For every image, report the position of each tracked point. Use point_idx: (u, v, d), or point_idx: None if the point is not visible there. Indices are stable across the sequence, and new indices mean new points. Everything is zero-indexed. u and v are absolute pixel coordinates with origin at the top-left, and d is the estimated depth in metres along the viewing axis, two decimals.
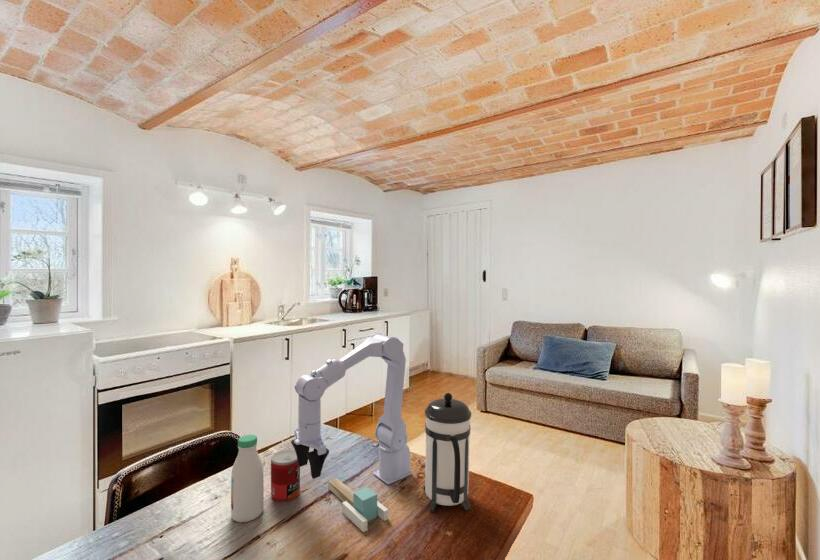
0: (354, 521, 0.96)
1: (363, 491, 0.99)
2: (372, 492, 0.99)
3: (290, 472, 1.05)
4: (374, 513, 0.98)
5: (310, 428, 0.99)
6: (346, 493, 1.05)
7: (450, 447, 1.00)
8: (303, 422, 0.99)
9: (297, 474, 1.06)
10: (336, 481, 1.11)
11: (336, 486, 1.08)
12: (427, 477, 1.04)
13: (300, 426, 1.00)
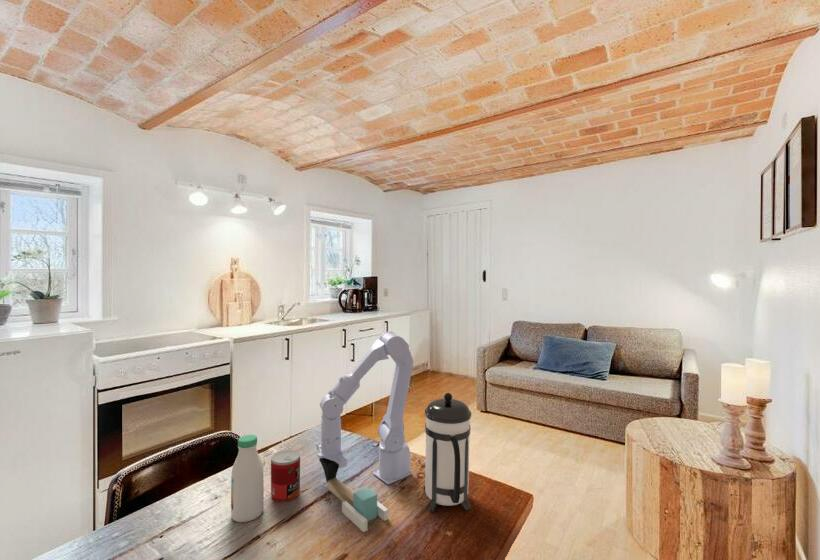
0: (354, 521, 0.96)
1: (362, 491, 0.99)
2: (372, 492, 0.99)
3: (290, 472, 1.05)
4: (374, 513, 0.98)
5: (332, 443, 1.10)
6: (346, 492, 1.05)
7: (450, 447, 1.00)
8: (323, 437, 1.10)
9: (297, 474, 1.06)
10: (336, 481, 1.10)
11: (336, 486, 1.08)
12: (427, 477, 1.04)
13: (323, 441, 1.10)
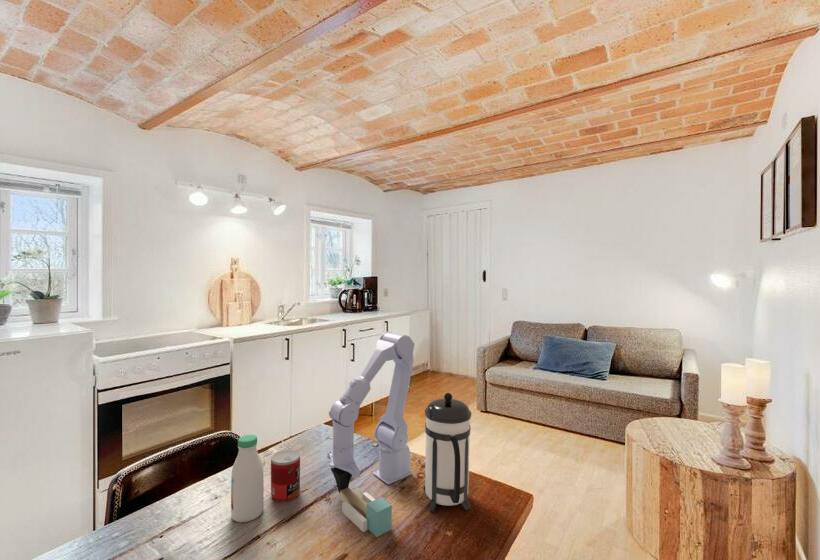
0: (354, 521, 0.96)
1: (376, 502, 0.95)
2: (386, 503, 0.95)
3: (290, 472, 1.05)
4: (388, 525, 0.93)
5: (345, 452, 1.04)
6: (359, 504, 0.99)
7: (450, 447, 1.00)
8: (338, 446, 1.04)
9: (297, 474, 1.06)
10: (348, 491, 1.05)
11: (349, 497, 1.03)
12: (427, 477, 1.04)
13: (335, 450, 1.05)
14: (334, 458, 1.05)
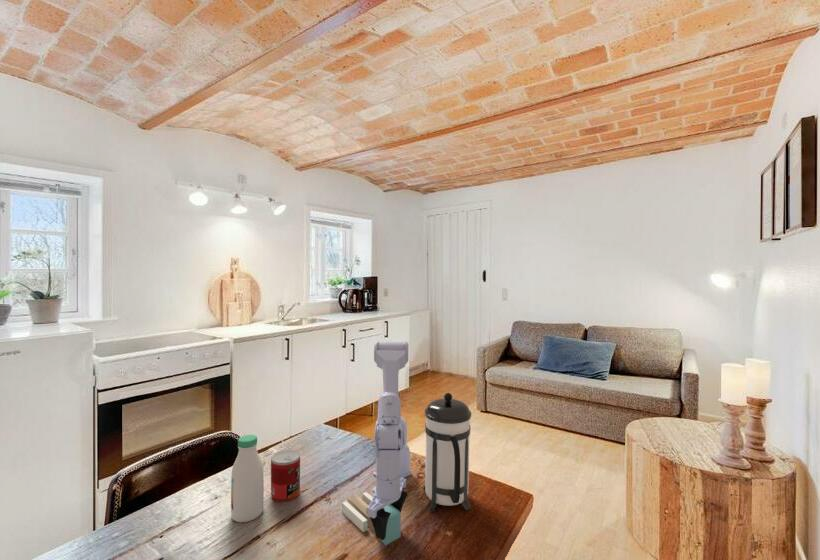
0: (354, 521, 0.96)
1: (385, 509, 0.92)
2: (395, 510, 0.92)
3: (290, 472, 1.05)
4: (397, 533, 0.91)
5: (378, 482, 0.89)
6: None
7: (450, 447, 1.00)
8: (394, 476, 0.89)
9: (297, 474, 1.06)
10: (356, 498, 1.03)
11: (356, 504, 1.00)
12: (427, 477, 1.04)
13: None
14: None
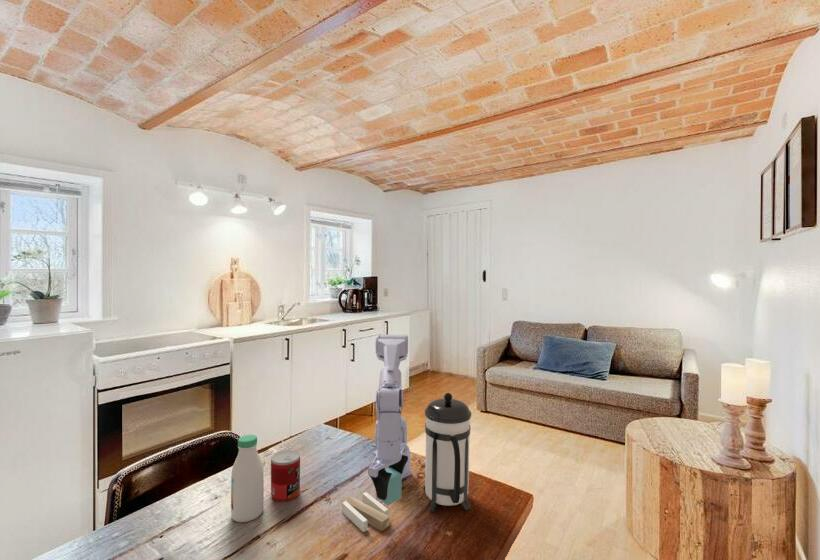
0: (354, 521, 0.96)
1: None
2: (396, 472, 0.94)
3: (290, 472, 1.05)
4: (398, 494, 0.93)
5: (380, 444, 0.91)
6: (368, 511, 0.97)
7: (450, 447, 1.00)
8: (395, 438, 0.91)
9: (297, 474, 1.06)
10: (352, 500, 1.02)
11: (355, 505, 1.00)
12: (427, 477, 1.04)
13: None
14: None
